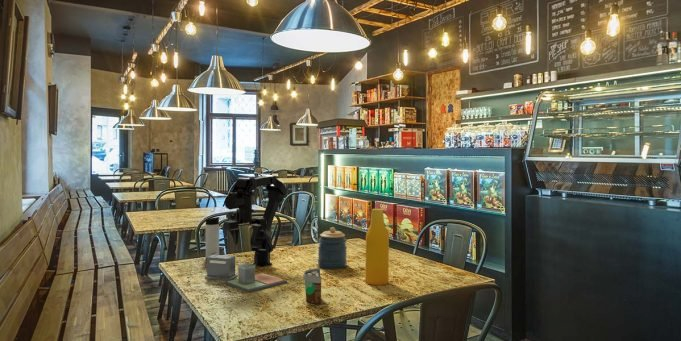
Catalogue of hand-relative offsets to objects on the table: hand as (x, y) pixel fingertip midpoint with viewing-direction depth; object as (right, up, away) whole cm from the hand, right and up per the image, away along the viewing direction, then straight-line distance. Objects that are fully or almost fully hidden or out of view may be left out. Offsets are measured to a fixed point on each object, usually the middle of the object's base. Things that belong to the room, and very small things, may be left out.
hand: (245, 243), depth 200 cm
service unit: (-8, -12, -10) cm, 18 cm away
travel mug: (-20, -11, +23) cm, 32 cm away
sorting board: (+8, -13, -18) cm, 24 cm away
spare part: (+5, -12, -22) cm, 25 cm away
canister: (+37, -12, +10) cm, 40 cm away
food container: (+31, -14, -39) cm, 52 cm away
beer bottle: (+55, -13, -16) cm, 59 cm away
